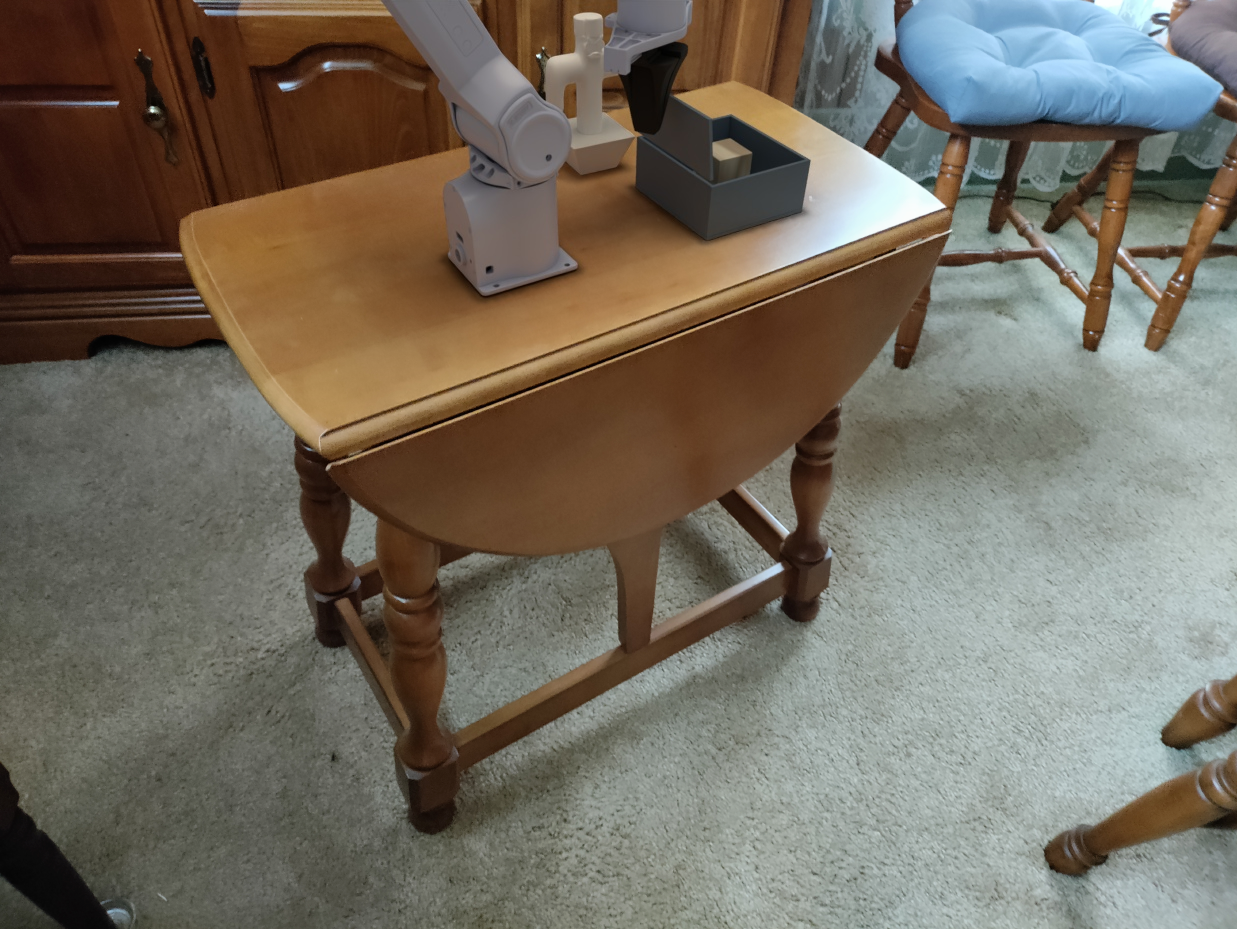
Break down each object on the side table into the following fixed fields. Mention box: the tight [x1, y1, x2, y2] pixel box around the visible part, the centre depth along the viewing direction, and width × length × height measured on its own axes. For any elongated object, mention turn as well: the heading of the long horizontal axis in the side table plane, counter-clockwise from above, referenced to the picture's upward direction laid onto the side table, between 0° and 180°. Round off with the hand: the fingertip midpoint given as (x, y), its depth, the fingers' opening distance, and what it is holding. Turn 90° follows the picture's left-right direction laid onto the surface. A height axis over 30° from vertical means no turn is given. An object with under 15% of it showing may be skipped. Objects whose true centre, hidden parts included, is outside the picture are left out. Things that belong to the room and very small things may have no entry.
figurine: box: [544, 12, 637, 176], centre depth 89 cm, size 7×9×15 cm
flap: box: [637, 93, 713, 181], centre depth 80 cm, size 6×13×1 cm
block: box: [696, 138, 752, 185], centre depth 88 cm, size 4×4×4 cm
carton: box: [634, 113, 812, 242], centre depth 86 cm, size 12×13×5 cm
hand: (646, 130), depth 79 cm, fingers closed
